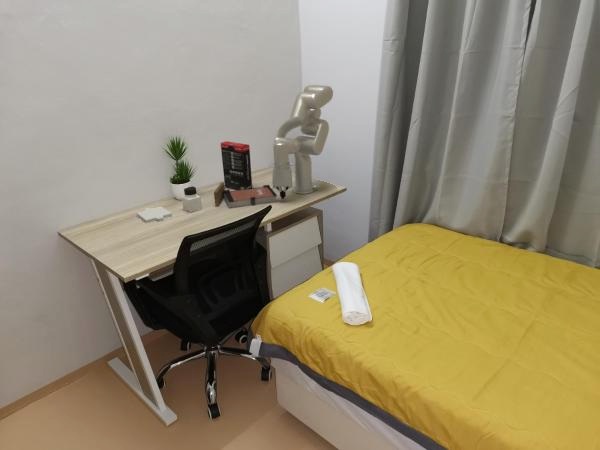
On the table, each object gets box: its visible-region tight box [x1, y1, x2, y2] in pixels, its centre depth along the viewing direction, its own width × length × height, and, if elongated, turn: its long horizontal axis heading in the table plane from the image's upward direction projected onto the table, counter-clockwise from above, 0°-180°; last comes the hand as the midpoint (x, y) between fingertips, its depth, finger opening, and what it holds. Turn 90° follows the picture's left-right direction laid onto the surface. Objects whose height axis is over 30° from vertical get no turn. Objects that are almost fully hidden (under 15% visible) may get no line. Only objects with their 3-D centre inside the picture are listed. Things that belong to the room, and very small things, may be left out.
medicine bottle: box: [181, 185, 203, 213], centre depth 207 cm, size 7×7×12 cm
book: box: [223, 184, 278, 209], centre depth 219 cm, size 26×18×5 cm
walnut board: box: [213, 181, 226, 208], centre depth 218 cm, size 2×17×8 cm, turn 177°
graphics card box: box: [220, 141, 253, 191], centre depth 233 cm, size 17×7×27 cm, turn 58°
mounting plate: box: [136, 206, 173, 224], centre depth 202 cm, size 18×13×2 cm
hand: (283, 198), depth 216 cm, fingers closed
